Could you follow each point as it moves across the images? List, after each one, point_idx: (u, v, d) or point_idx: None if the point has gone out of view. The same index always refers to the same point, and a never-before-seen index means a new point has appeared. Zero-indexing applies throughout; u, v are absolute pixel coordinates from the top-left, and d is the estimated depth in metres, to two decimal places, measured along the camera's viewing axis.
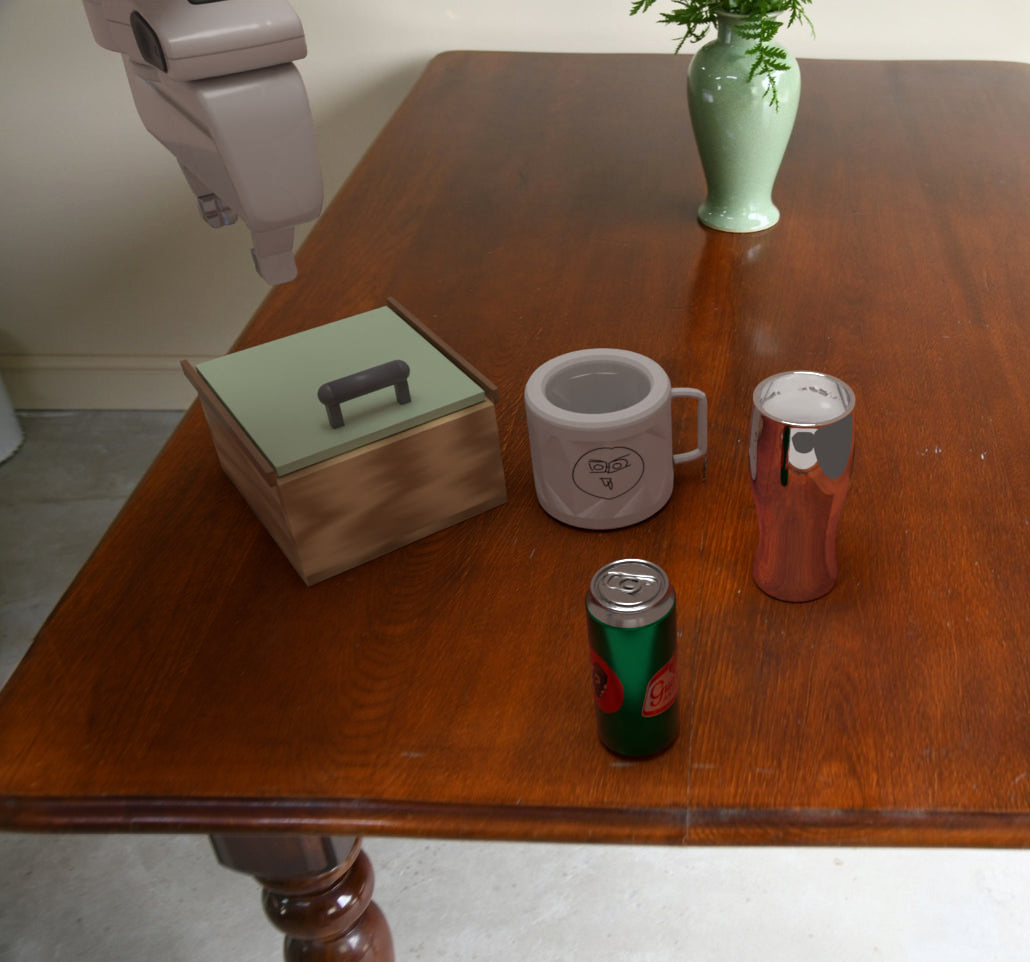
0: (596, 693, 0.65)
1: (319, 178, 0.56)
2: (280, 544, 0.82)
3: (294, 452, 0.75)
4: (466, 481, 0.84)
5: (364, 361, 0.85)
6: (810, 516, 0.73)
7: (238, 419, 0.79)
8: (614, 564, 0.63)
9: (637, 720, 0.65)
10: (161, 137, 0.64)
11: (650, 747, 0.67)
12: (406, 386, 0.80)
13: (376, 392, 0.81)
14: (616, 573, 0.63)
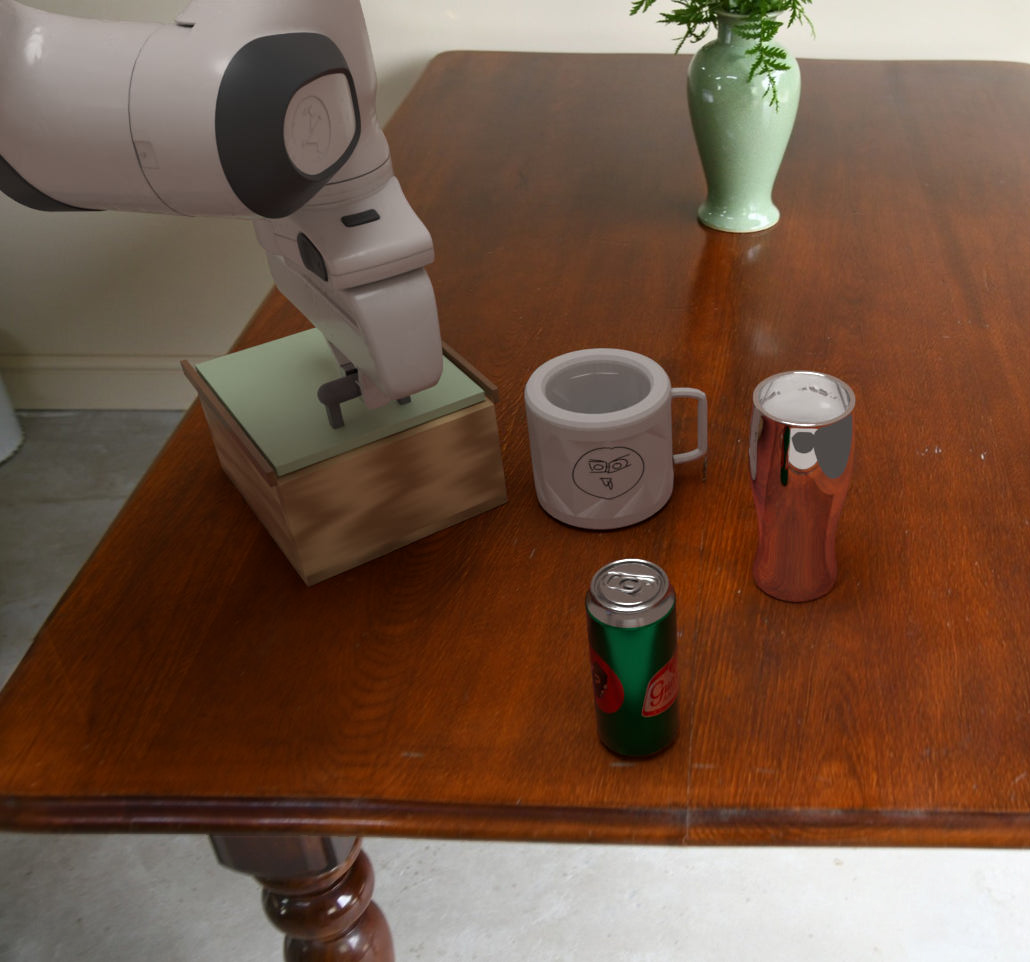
0: (596, 693, 0.65)
1: (441, 356, 0.69)
2: (280, 544, 0.82)
3: (294, 452, 0.75)
4: (466, 481, 0.84)
5: None
6: (810, 516, 0.73)
7: (238, 419, 0.79)
8: (614, 564, 0.63)
9: (637, 720, 0.65)
10: (296, 302, 0.77)
11: (650, 747, 0.67)
12: None
13: None
14: (616, 573, 0.63)
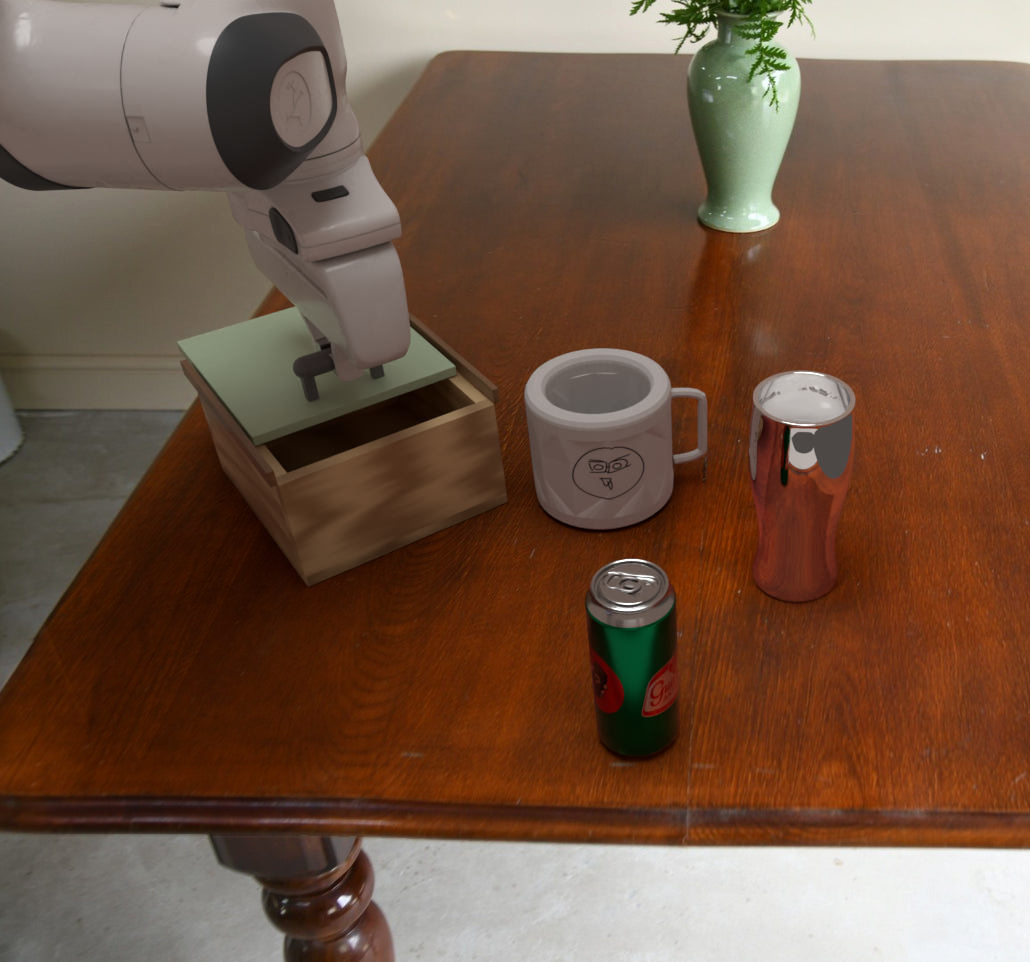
0: (596, 693, 0.65)
1: (408, 327, 0.72)
2: (280, 544, 0.82)
3: (270, 423, 0.78)
4: (466, 481, 0.84)
5: None
6: (810, 516, 0.73)
7: (217, 392, 0.81)
8: (614, 564, 0.63)
9: (637, 720, 0.65)
10: (273, 279, 0.80)
11: (650, 747, 0.67)
12: None
13: None
14: (616, 573, 0.63)
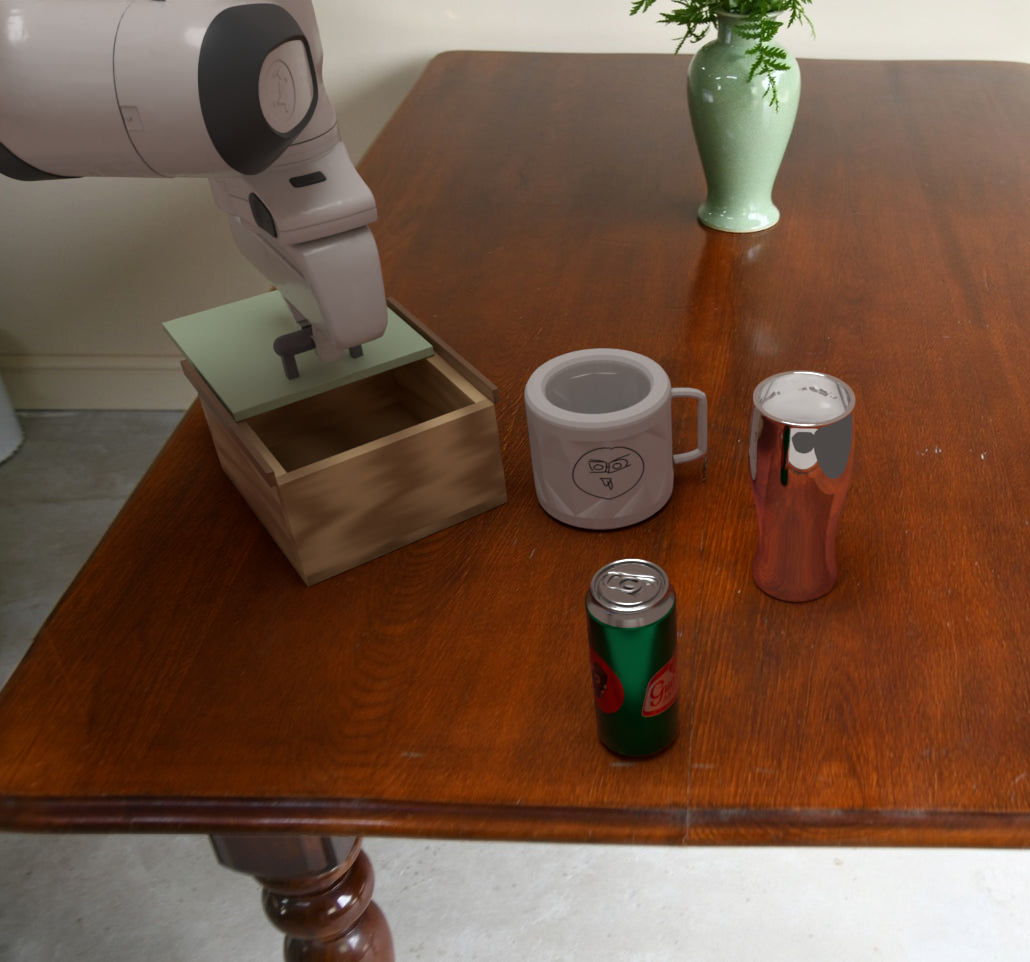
0: (596, 693, 0.65)
1: (385, 308, 0.74)
2: (280, 544, 0.82)
3: (251, 400, 0.81)
4: (466, 481, 0.84)
5: None
6: (810, 516, 0.73)
7: (200, 371, 0.84)
8: (614, 564, 0.63)
9: (637, 720, 0.65)
10: (255, 263, 0.83)
11: (650, 747, 0.67)
12: None
13: None
14: (616, 573, 0.63)
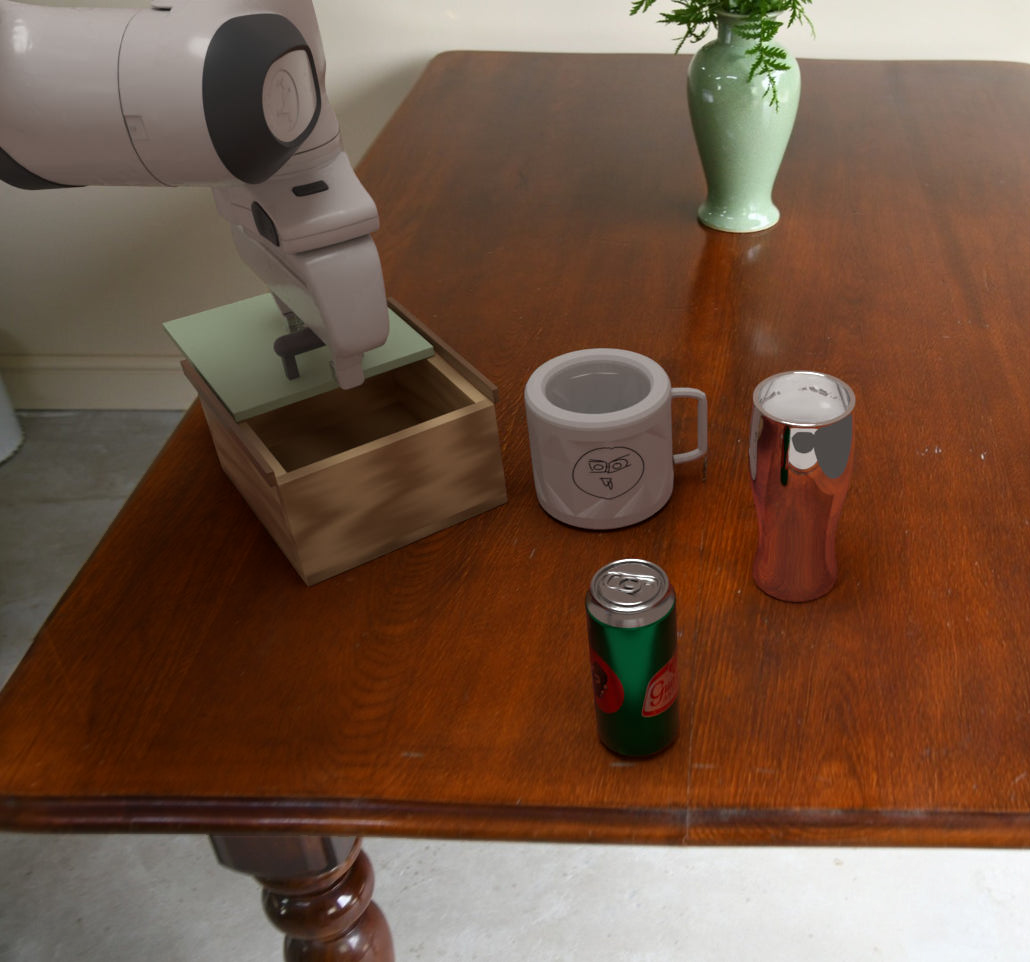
0: (596, 693, 0.65)
1: (386, 317, 0.74)
2: (280, 544, 0.82)
3: (251, 400, 0.81)
4: (466, 481, 0.84)
5: None
6: (810, 516, 0.73)
7: (200, 371, 0.84)
8: (614, 564, 0.63)
9: (637, 720, 0.65)
10: (257, 271, 0.83)
11: (650, 747, 0.67)
12: None
13: None
14: (616, 573, 0.63)
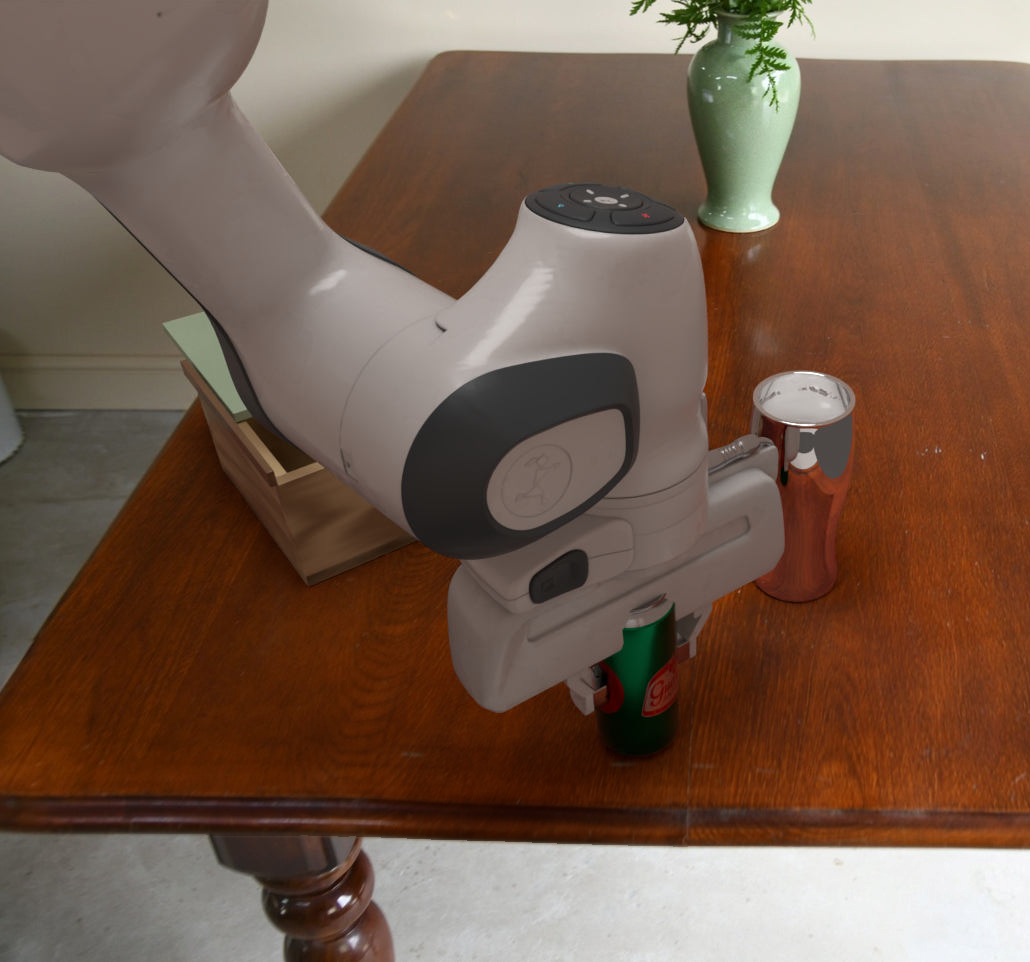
0: None
1: (484, 692, 0.56)
2: (280, 544, 0.82)
3: None
4: None
5: None
6: (810, 516, 0.73)
7: (200, 371, 0.84)
8: None
9: (637, 720, 0.65)
10: None
11: (650, 747, 0.67)
12: None
13: None
14: None
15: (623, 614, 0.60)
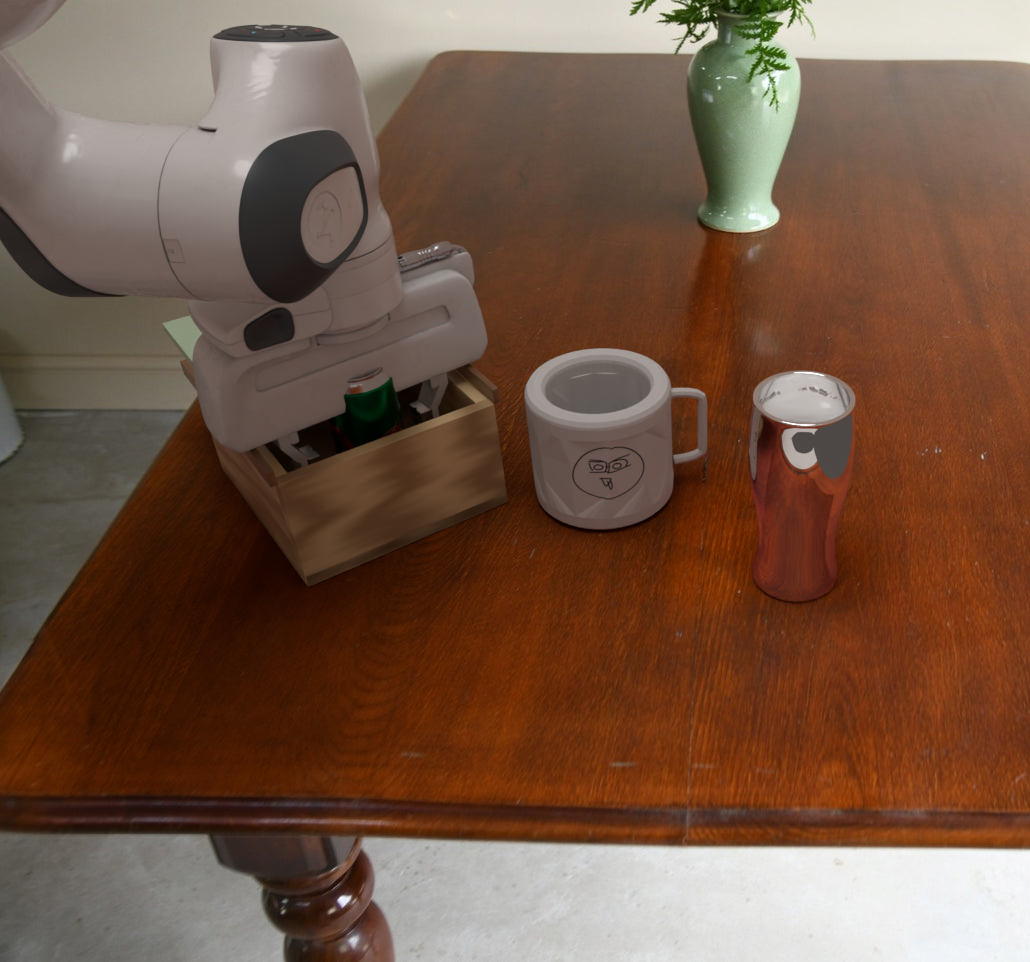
0: None
1: (222, 430, 0.72)
2: (280, 544, 0.82)
3: None
4: (466, 481, 0.84)
5: None
6: (810, 516, 0.73)
7: None
8: None
9: None
10: None
11: None
12: None
13: None
14: None
15: (341, 379, 0.77)
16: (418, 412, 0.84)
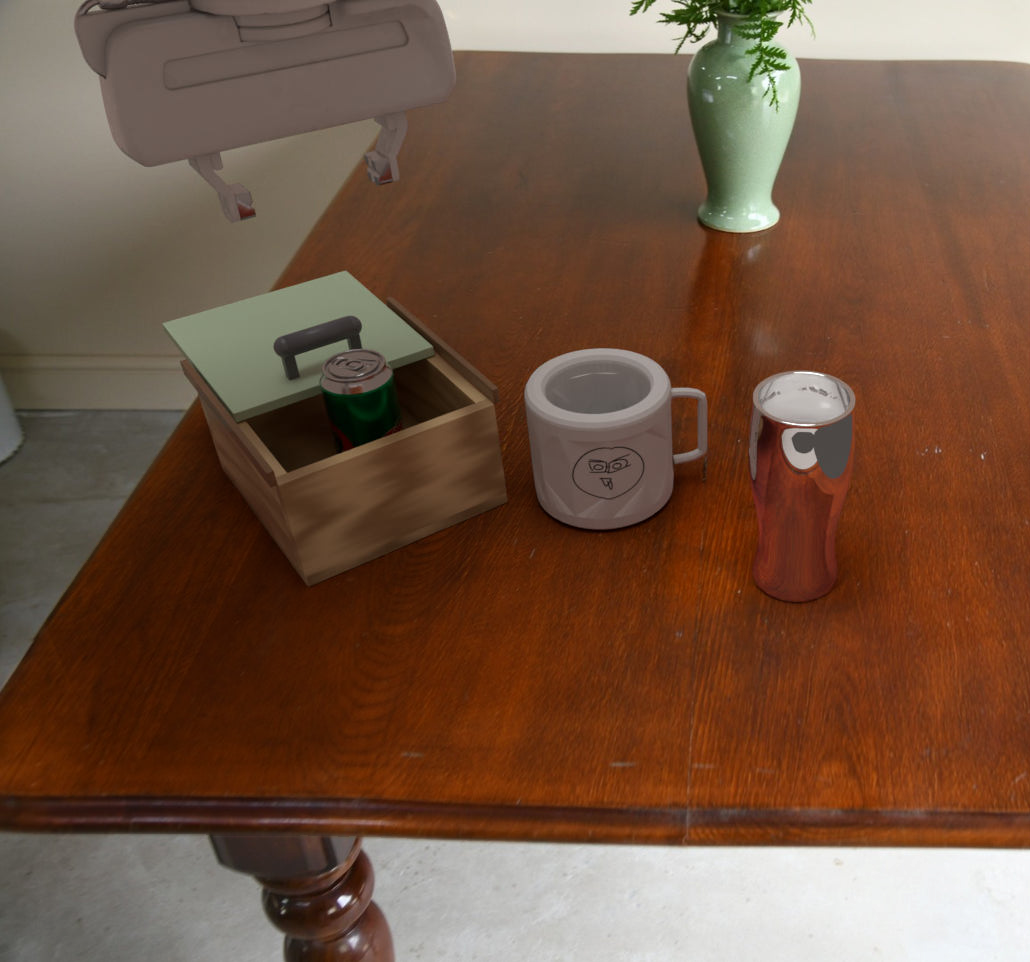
0: None
1: None
2: (280, 544, 0.82)
3: (251, 400, 0.81)
4: (466, 481, 0.84)
5: (321, 320, 0.90)
6: (810, 516, 0.73)
7: (200, 371, 0.84)
8: (344, 353, 0.80)
9: None
10: (223, 136, 0.65)
11: None
12: (358, 341, 0.85)
13: (332, 348, 0.87)
14: (344, 358, 0.79)
15: None
16: (242, 186, 0.69)
